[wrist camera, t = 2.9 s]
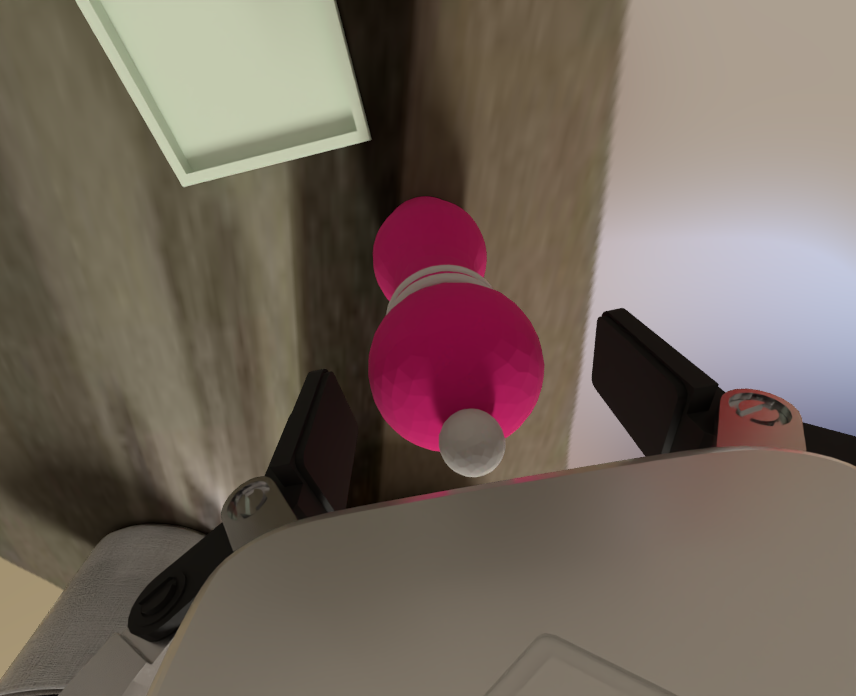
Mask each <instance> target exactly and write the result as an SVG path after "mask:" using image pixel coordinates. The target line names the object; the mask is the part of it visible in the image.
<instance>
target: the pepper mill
mask: <svg viewBox="0 0 856 696" xmlns="http://www.w3.org/2000/svg"><path fill="white" fill-rule="evenodd" d="M486 262H487V252H486V247H485V242H484V239H483V237H482V234H481V232H480V230H479V228H478V226H477V224H476V223H475V221H474V220H473V219H472V218H471V216H470V215H469V214H468V213H467V212H465V211H464V210H463V209H462V208H460V207H458V206H457V205H455V204H453V203H450V202H448V201H444V200H441V199H439V198H436V197H430V196H422V197H416V198H413V199H410V200H407V201H405V202H404V203H402V204H401V205H400V206H398V207H397V208H396V209H395V210H394V211H393V213H392V214H391V215H390V216H389V217H388V218H387V219H386V220H385V222H384V223H383V224H382V226H381V227H380V229H379V231H378V234H377V236H376V239H375V243H374V249H373V263H374V271H375V276H376V279H377V282H378V284H379V286H380V288H381V289H382V291H383V293H384V294H385V296H386V297H387V299H388V300H389V301H390V302H389V304H388V308H387V313H386V316H385V317H384V319H383V321H382V322H381V324H380V326H379V327H378V329H377V330H376V332H375V335H374V339H373V342H372V346H371V349H370V353H369V381H370V387H371V391H372V394H373V398H374V401H375V403H376V405H377V407H378V409H379V411H380V413H381V415H382V416H383V418H384V419H385V421H386V422H387V423H388V424H389V425H390V426H391V427H392V428H393V429H394V430H395V431H396V432H397V433H398V434H400V435H401V436H402V437H403V438H405V439H406V440H408V441H410V442H412V443H414V444H415V445H417V446H420V447H423V448H426V449H429V450H433V451H439V452H440V453H441V455H442V457H443V459H444V461H445V463H446V464H447V465H448V466H449V467H450V468H451V469H452V470H453V471H455V472H457V473H459V474H461V475H464V476H466V477H479V476H483V475H486V474H488V473H490V472H492V471H493V470H494V469H495V468H496V467H497V466H498V464H499V463H500V462H501V460H502V458H503V455H504V451H505V438H506V437H508V436H509V435H511V434H512V433H513V432H514V431H516V430H517V429H518V428H519V427H520V426H521V425H522V423H523V422H524V421H525V420H526V419H527V417H528V416H529V415H530V414H531V412H532V410H533V408H534V406H535V405H536V403H537V401H538V397H539V394H540V391H541V388H542V383H543V378H544V360H543V355H542V349H541V345H540V341H539V338H538V336H537V334H536V332H535V330H534V328H533V326H532V324H531V322H530V320H529V319H528V318H527V317H526V315H525V314H524V313H523V311H522V310H521V309H520V308H519V307H518V306H517V305H516V304H515V303H514V302H513V301H511V300H510V299H508V298H507V297H506V296H504V295H503V294H502V293H500V292H498V291H496V290H493V288H492V286H491V285H490V284H489V283H488V282H487V281H486V280H485V279H484V274H485V269H486Z"/></svg>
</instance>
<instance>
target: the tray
mask: <svg viewBox="0 0 856 696" xmlns="http://www.w3.org/2000/svg"><path fill="white" fill-rule="evenodd" d="M75 1H76V2H77V4H78V6H79V8H80V9H81V11H82V13H83V14H84V16H85V18H86V20H87V21H88V23H89V25H90V27H91V28H92V30H93V32H94V34H95V35H96V37H97V39H98V40H99V42H100V44H101V46H102V47H103V49H104V51H105V53H106V54H107V56H108V58H109V60H110V61H111V63H112V65H113V67H114V68H115V70H116V72H117V73H118V75H119V77H120V79H121V80H122V82H123V84H124V86H125V87H126V89H127V91H128V93H129V94H130V96H131V98H132V99H133V101H134V103H135V105H136V106H137V108H138V110H139V112H140V113H141V115H142V117H143V119H144V120H145V122H146V124H147V126H148V127H149V129H150V131H151V132H152V134H153V136H154V138H155V139H156V141H157V143H158V145H159V146H160V148H161V150H162V152H163V153H164V155H165V157H166V159H167V160H168V162H169V164H170V165H171V167H172V169H173V171H174V172H175V174H176V176H177V178H178V179H179V181H180V183H181V185H182V186H183V187H186V186H190V185H194V184H198V183H202V182H206V181H210V180H214V179H217V178H221V177H225V176H229V175H233V174H237V173H241V172H245V171H249V170H253V169H257V168H261V167H265V166H269V165H273V164H277V163H281V162H285V161H289V160H293V159H297V158H301V157H305V156H309V155H313V154H317V153H321V152H325V151H329V150H333V149H337V148H341V147H345V146H349V145H353V144H357V143H361V142H365V141H369V140H372V138H371V134H370V131H369V127H368V123H367V119H366V115H365V111H364V107H363V103H362V99H361V96H360V92H359V88H358V84H357V80H356V76H355V72H354V68H353V64H352V61H351V57H350V53H349V49H348V45H347V41H346V37H345V33H344V29H343V25H342V22H341V18H340V14H339V10H338V6H337V2H336V0H75Z"/></svg>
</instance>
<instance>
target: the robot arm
mask: <svg viewBox="0 0 856 696" xmlns="http://www.w3.org/2000/svg"><path fill="white" fill-rule="evenodd" d="M592 383H593V385H594V387H595V389H596V390H597V392H598V393H599V394H600V396H601V397H602V398H603V400H604V401H605V402H606V404H607V405H608V406H609V408H610V409H611V410H612V412H613V413H614V414H615V416H616V417H617V419H618V420H619V421H620V423H621V424H622V425H623V427H624V428H625V429H626V431H627V432H628V433H629V435H630V436H631V437H632V439H633V440H634V442H635V443H636V444H637V446H638V447H639V448H640V450H641V451H642V452H643V454H644V455H645V456H646V457H640V458H634V459H628V460H622V461H616V462H610V463H604V464H598V465H592V466H586V467H580V468H574V469H568V470H562V471H556V472H550V473H544V474H538V475H533V476H527V477H521V478H515V479H510V480H504V481H498V482H492V483H486V484H481V485H475V486H469V487H464V488H458V489H452V490H447V491H441V492H435V493H430V494H424V495H419V496H413V497H407V498H402V499H396V500H391V501H385V502H380V503H374V504H369V505H364V506H359V507H354V508H349V509H346V504H347V498H348V492H349V486H350V480H351V473H352V467H353V461H354V455H355V449H356V443H357V437H358V425H357V422H356V420H355V418H354V416H353V413H352V411H351V409H350V407H349V405H348V403H347V401H346V399H345V396H344V394H343V392H342V390H341V388H340V386H339V384H338V382H337V379H336V377H335V375H334V373H333V372H328V370H327V369H321V370H316V371H311V372H309V373H308V375H307V377H306V380H305V382H304V385H303V387H302V389H301V392H300V394H299V397H298V399H297V402H296V404H295V406H294V409H293V411H292V413H291V415H290V416H289V418H288V421H287V423H286V426H285V428H284V430H283V433H282V435H281V438H280V440H279V443H278V445H277V447H276V450H275V452H274V455H273V457H272V459H271V462H270V464H269V467H268V469H267V471H266V474H265V476H261V477H255V478H253V479H250V480H248V481H246V482H245V483H243V484H241V485H240V486H239V487H238V488H237V489H235V490H234V491H233V492H232V494H231V495H230V496H229V497H228V498H227V500H226V502H225V504H224V505H223V508H222V512H221V518H222V523H221V524H220V525H218V526H217V527H216V528H215V529H214V530H212V531H211V532H210V533H209V534H208V535H206V536H205V537H204V538H203V539H201V540H200V541H199V542H198V543H197V544H195V545H194V546H193V547H192V548H191V549H189V550H188V551H187V552H186V553H184V554H183V555H182V556H181V557H180V558H178V559H177V560H176V561H175V562H174V563H172V564H171V565H170V566H169V567H167V568H166V569H165V570H164V571H163V572H161V573H160V574H159V575H158V576H157V577H155V578H154V579H153V580H152V581H151V582H150V583H149V584H148V585H147V586H146V587H145V589H144V590H143V591H142V592H141V594H140V595H139V596H138V598H137V599H136V601H135V603H134V605H133V606H132V608H131V611H130V614H129V617H128V626H127V628H126V629H125V630H124V631H123V632H122V633H121V634H119V633H117V632H115V633H114V634H113V635H112V636H111V637H110V638H109V640H108V641H107V642H106V643H105V644H104V645H103V646H102V647H101V648H100V649H99V651H98V652H97V653H96V654H95V655H94V656H93V657H92V658H91V659H90V661H89V662H88V663H87V664H86V665H85V666H84V667H83V668H82V669H81V670H80V672H79V673H78V674H77V675H76V676H75V677H74V678H73V679H72V680H71V682H70V683H69V684H68V685H67V686H66V687H65V688H64V689H63V690H62V692H61V693H60V694H59V695H58V696H856V437H855V436H852V435H848V434H844V433H840V432H837V431H833V430H829V429H826V428H822V427H818V426H814V425H811V424H807V423H803V422H802V418H801V415H800V413H799V411H798V410H797V409H796V408H795V407H794V406H793V405H792V404H790V403H789V402H787V401H786V400H784V399H782V398H780V397H778V396H776V395H773V394H771V393H767V392H763V391H760V390H753V389H734V390H730V391H728V392H724V391H723V390H722V389H721V388H719V387H718V383H717V382H715V381H714V380H713V379H711V378H710V377H709V376H708V375H707V374H705V373H704V372H703V371H702V370H700V369H699V368H698V367H697V366H695V365H694V364H693V363H691V362H690V361H689V360H688V359H686V358H685V357H684V356H683V355H682V354H680V353H679V352H678V351H677V350H675V349H674V348H673V347H672V346H670V345H669V344H668V343H667V342H665V341H664V340H663V339H662V338H660V337H659V336H658V335H657V334H655V333H654V332H653V331H652V330H650V329H649V328H648V327H647V326H645V325H644V324H643V323H642V322H640V321H639V320H638V319H636V318H635V317H634V316H633V315H632V314H630V313H629V312H628V311H627V310H625V309H624V308H620V309H615V310H610V311H606V312H604V313H603V314H602V317H599V318H598V320H597V328H596V338H595V349H594V359H593V369H592Z"/></svg>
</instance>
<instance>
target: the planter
mask: <svg viewBox="0 0 856 696" xmlns="http://www.w3.org/2000/svg"><path fill="white" fill-rule="evenodd" d="M205 536H206V534H204V533H202V532H199V531H196V530H193V529H190V528H186V527H182V526H176V525H169V524H141V525H135V526H130V527H126V528H123V529H120V530H117V531H115V532H112V533H110V534H108V535H106V536H105V537H104V538H103V539H102V540H101V541H100V542H99V543H98V544H97V545H96V546H95V548H94V549H93V550H92V552H91V553H90V554H89V556H88V557H87V559H86V560H85V561H84V563H83V564H82V566H81V567H80V568H79V570H78V571H77V573H76V574H75V575H74V577H73V578H72V580H71V581H70V583H69V584H68V585H67V587H66V588H65V590H64V591H63V592H62V594H61V595H60V597H59V598H58V600H57V601H56V602H55V604H54V605H53V607H52V608H51V609H50V611H49V612H48V614H47V615H46V616H45V618H44V619H43V621H42V622H41V624H40V625H39V626H38V628H37V629H36V631H35V632H34V634H33V635H32V636H31V638H30V639H29V640H28V642H27V643H26V645H25V646H24V647H23V649H22V650H21V652H20V653H19V654H18V656H17V657H16V659H15V660H14V661H13V663H12V664H11V666H10V667H9V668H8V670H7V671H6V672H5V674H4V675H3V677H2V678H1V679H0V696H58V695H59V694H60V693H61V692H62V690H63V689H64V688H65V687H66V686H67V685H68V684H69V683H70V682H71V680H72V679H73V678H74V677H75V676H76V675H77V674H78V673H79V672H80V670H81V669H82V668H83V667H84V666H85V665H86V664H87V663H88V662H89V661H90V659H91V658H92V657H93V656H94V655H95V654H96V653H97V652H98V651H99V649H100V648H101V647H102V646H103V645H104V644H105V643H106V642H107V641H108V640H109V638H110V637H111V636H112V635H113V634H114V633H115V632H117V633H119V634H121V633H122V632H123V631H124V630H125V629H126V628H127V626H128V617H129V614H130V611H131V608H132V606H133V605H134V603H135V601H136V599H137V598H138V596H139V595H140V594H141V592H142V591H143V590H144V589H145V587H146V586H147V585H148V584H149V583H150V582H151V581H152V580H153V579H154V578H155V577H157V576H158V575H159V574H160V573H161V572H163V571H164V570H165V569H166V568H167V567H169V566H170V565H171V564H172V563H174V562H175V561H176V560H177V559H178V558H180V557H181V556H182V555H183V554H184V553H186V552H187V551H188V550H189V549H191V548H192V547H193V546H194V545H195V544H197V543H198V542H199V541H200V540H201V539H203V538H204V537H205Z"/></svg>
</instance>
